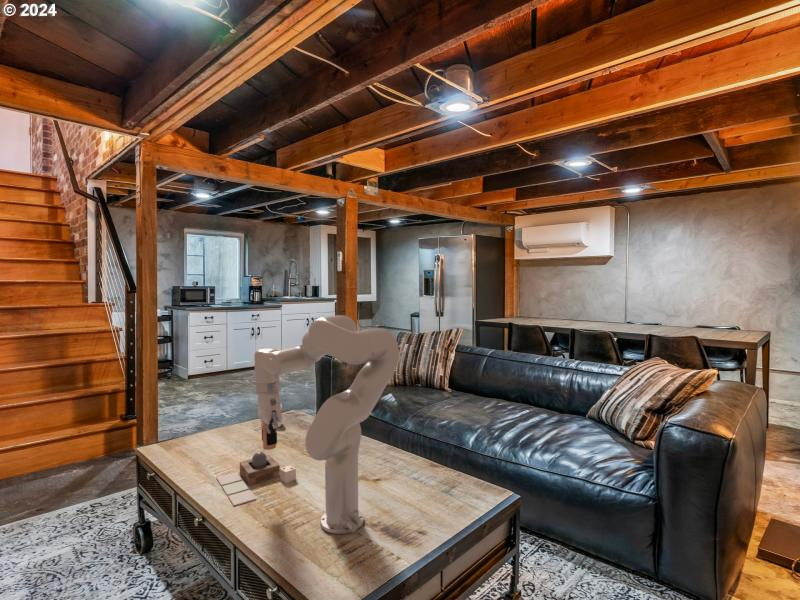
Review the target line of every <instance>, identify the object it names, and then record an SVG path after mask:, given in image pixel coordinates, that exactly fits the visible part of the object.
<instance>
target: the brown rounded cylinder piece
mask: <svg viewBox="0 0 800 600" xmlns="http://www.w3.org/2000/svg"><path fill="white" fill-rule="evenodd" d="M269 422H270V423H272V421H269ZM262 426H263V441H262V445H263V446H262V448H263V450H266V451H269V450H273V449H276V447H277V444H273V445H269V446H268V445H267V434H266V433H268V432H267V424H266V423H264V422H263V425H262ZM271 426H272V425H270V427H271Z"/></svg>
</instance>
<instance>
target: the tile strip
mask: <svg viewBox="0 0 800 600" xmlns="http://www.w3.org/2000/svg"><path fill="white" fill-rule="evenodd" d="M216 480H217V482H218V484H220V486H221V488H222V490H223V491H224V493H225V495H226V497H228V499H229V501H230V502H231V504H232V506H233V507H236V506H241V505H243V504H246V503H250V502H253V501H256V500H257V497H256V496H255V495H254V493H253V492H252V491H251V489H250V488H249V486H248V485H247V484H246V483H245V482H246V481H244V480H243V479H242V477H241V475H240V473H238V472H237V471H235V472H232V473H228V474H224V475H219V476H217V477H216Z"/></svg>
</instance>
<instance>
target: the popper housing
mask: <svg viewBox="0 0 800 600" xmlns="http://www.w3.org/2000/svg"><path fill="white" fill-rule="evenodd" d="M266 457H267V466H264V467H260V468H256V469H253V468H252V458H251V459H248V460H242V461H240V462H239V475H240V476H242V477H243V479H244V480H245V482H246V483H247V484H248V485H252V484H253V485H254V484H257V483H260V482H264V481H266V480H267V479H268V480H271V479H274V478H277V477H280V468H281V467H280V466H281V465H280V464H279V463H278V462H277V461H276V460H275V459H274V458H273V457H272V456H271V455H270V454H267V455H266Z"/></svg>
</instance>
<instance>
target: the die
mask: <svg viewBox="0 0 800 600" xmlns="http://www.w3.org/2000/svg"><path fill="white" fill-rule="evenodd" d="M279 479H280V481H282V482H283V481H284V483H285V484H288V483H291V482H293V481H295V480H297V469H296V467H294V466H292V465H290V464H289V465H286V466H284V467H280V476H279ZM287 482H288V483H287Z"/></svg>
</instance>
